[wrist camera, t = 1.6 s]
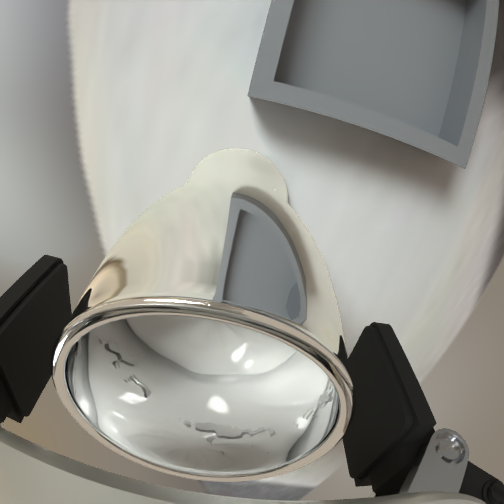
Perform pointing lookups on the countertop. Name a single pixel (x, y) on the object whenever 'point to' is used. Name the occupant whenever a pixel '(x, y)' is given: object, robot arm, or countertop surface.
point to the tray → (383, 66)
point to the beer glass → (211, 333)
